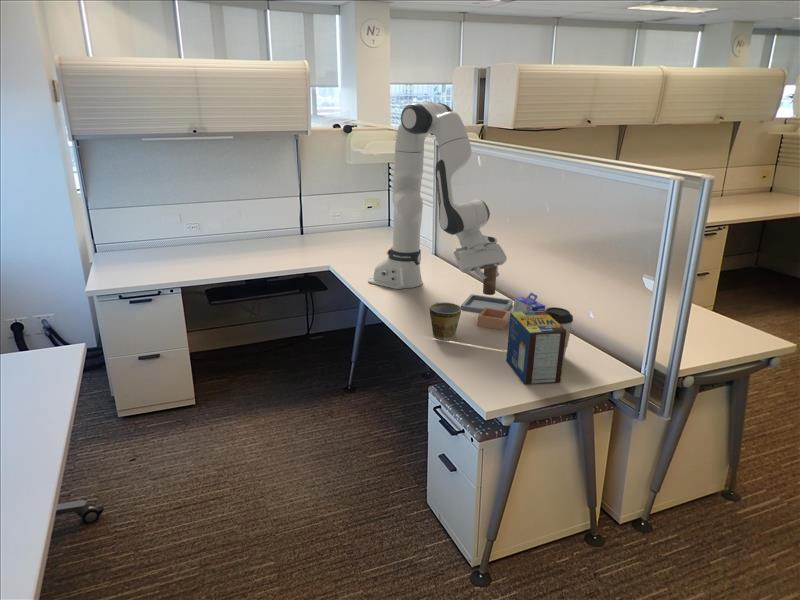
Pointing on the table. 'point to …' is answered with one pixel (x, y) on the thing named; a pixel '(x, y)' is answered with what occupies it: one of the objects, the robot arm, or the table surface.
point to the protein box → (535, 347)
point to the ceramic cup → (444, 320)
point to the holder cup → (494, 318)
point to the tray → (485, 303)
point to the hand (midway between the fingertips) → (490, 277)
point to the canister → (489, 279)
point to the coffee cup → (562, 321)
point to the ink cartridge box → (527, 304)
